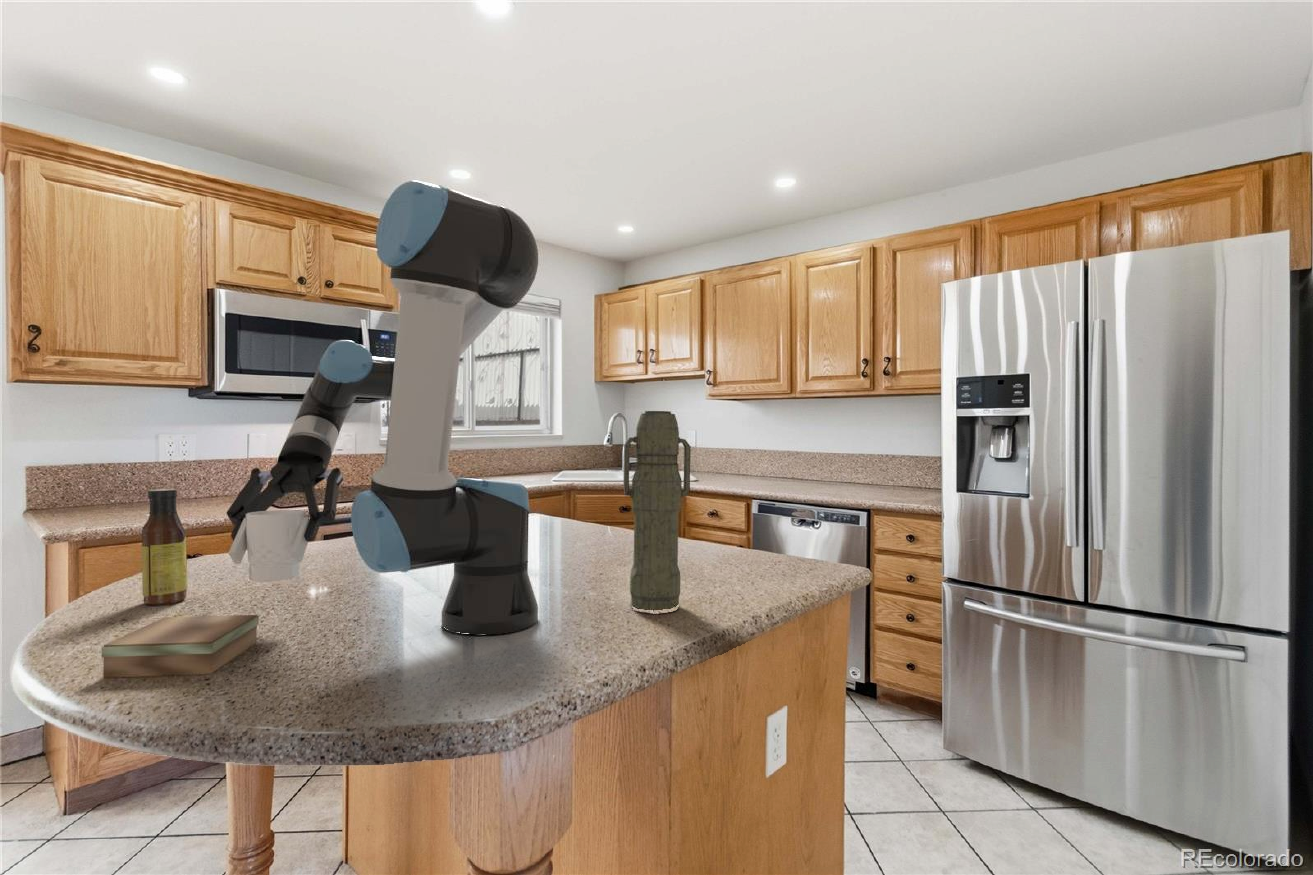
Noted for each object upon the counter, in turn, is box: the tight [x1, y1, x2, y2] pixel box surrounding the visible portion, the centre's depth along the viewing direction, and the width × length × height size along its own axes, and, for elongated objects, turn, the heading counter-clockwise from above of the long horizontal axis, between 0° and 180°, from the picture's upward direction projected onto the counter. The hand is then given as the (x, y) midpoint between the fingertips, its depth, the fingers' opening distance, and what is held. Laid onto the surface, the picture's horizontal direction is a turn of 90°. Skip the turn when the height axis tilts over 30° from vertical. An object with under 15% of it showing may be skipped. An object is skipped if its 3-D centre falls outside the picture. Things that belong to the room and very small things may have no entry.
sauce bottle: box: [141, 488, 188, 606], centre depth 112 cm, size 7×6×20 cm
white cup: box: [246, 509, 306, 583], centre depth 97 cm, size 8×8×10 cm
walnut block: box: [101, 614, 260, 679], centre depth 84 cm, size 12×12×4 cm
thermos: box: [623, 410, 692, 611], centre depth 113 cm, size 9×12×35 cm
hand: (265, 557), depth 94 cm, fingers closed on white cup, 8 cm apart
